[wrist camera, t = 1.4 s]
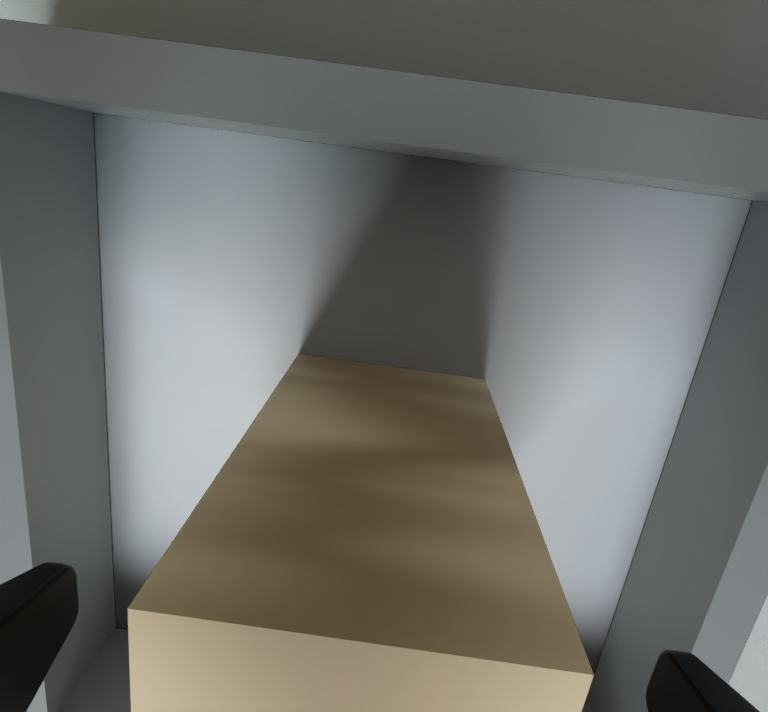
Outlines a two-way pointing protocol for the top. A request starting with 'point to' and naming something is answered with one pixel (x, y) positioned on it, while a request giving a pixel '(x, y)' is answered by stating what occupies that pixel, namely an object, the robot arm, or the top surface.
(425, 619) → the maple block
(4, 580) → the slate bin
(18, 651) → the robot arm
